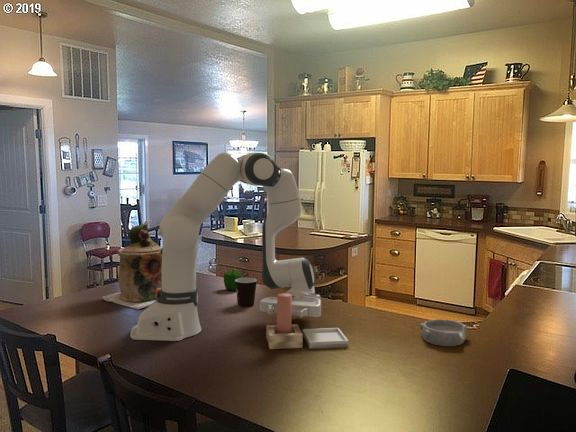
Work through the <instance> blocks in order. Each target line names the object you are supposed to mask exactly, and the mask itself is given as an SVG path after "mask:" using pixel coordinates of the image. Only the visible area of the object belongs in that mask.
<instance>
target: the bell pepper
mask: <svg viewBox="0 0 576 432" xmlns="http://www.w3.org/2000/svg"><path fill="white" fill-rule="evenodd" d="M237 270H238V269H237V268H233V269H232V271H225V272H224V273H223V284H224V288H225V289H226V290H227V291H230V290H231V291H232V292H233V291H234V292H236V284H235V280H236V279H239V278H243V274H242V273H241V272H240V271H237Z"/></svg>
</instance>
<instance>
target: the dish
mask: <svg viewBox="0 0 576 432" xmlns="http://www.w3.org/2000/svg"><path fill="white" fill-rule="evenodd" d="M419 326H420V327H419V329H420V330H421V331H422V332H421V334H422V338H423V340H424V341H425V342H427V343H429V344H432V345H436V346H441V347H457V345H458V346H461V345H462V344H464V343H465V340H466V337H467V330H468V328H467V325H466V324H464V323H462V322H459V321H456V320H451V319H443V318H442V319H431V320H430V319H429V320H425V321H424V322H421V323H420V325H419Z"/></svg>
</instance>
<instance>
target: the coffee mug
mask: <svg viewBox="0 0 576 432" xmlns="http://www.w3.org/2000/svg"><path fill="white" fill-rule="evenodd" d="M257 283H258V279H256V278H254V277H252V278H251V277H242V278H239V279H236V280H235V284H236V291H235V292H236V300H237V301H236V302H237V306H238V307H239V308H250V307H252V308H253V306H255V299H256V290H257V285H258V284H257Z"/></svg>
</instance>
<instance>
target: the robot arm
mask: <svg viewBox="0 0 576 432" xmlns="http://www.w3.org/2000/svg"><path fill="white" fill-rule="evenodd" d="M238 182H241V183H244V184H246V185H250V186H255V187H257V186H260V187H263V189H264V190H265V193H266V195H267V200H268V207H269V208H268V213H267V216H266V217H265V218H264V219H263V221H262V229H261V231H262V232H261V233H262V234H261V238H262V239H261V240H262V241H261V242H262V244H261V245H262V248H261V249H262V252H261V254H262V263H261V264H262V265H261V279H262V284H264V285H265V287H267V288H268V289H271V290H275V289H276V290H278V289H280V288H285V287H286V288H287V287H291V288H289V290H287V291H286V292H285V293H284V294H291V295H292V316H293V317H297V318H303V317H313V318H317V317H321V316H322V300H321V295H320V294H317V293H316V289H315V283H316V272H315V268H314V266H313V264H312V263H311V262H310V260H309V259H307V258H306V257H303V256H302V257H296V258H289V259H281V260H280V259H279V260H277V259H276V237H277V234H279V232H281V231H282V230H284V229H286V228H287V227H289V226H291V225H292V224H294V223H295V222H297V221H298V219H299V218H300V216H301V213H302V202H301V197H300V191H299V188H298V185H297V181H296V178H295V176H294V174H293V172H292V171H291V170H290V169H287V168H284V167H283V168H282V167H280V166H279V165H278V163H277V162H276V160H274V158H273V157H272V156H270V155H269V154H268V153H264V152H250V153H248V154H247V153H246V154H243V155H241V156H240V157H237V156H235V155H233V154H231V153H229V152H221V153H219V154H217V155H216V156H214V158H213V159H211V161H210V162H209V163H208V164H207V165H206V166H205V167H204V168H203V170H202V171H201V172H200V173H199V174H198V176H197V177H196V178H195V180H194V181H193V182H192V184H191V185H190V186H189V188H188V189H187V190H186V191H185V192H184V194H183V195H182V196H181V197H179V199H178V200H177V201H176V203H175V204H174V205H173V206H172V207H171V208H170V209H169V211H168V212H166V214H165V215H164V216H163V218H162V219H161V221H160V222H159V229H158V230H159V235H160V236H161V238H162V248H163V253H162V265H161V273H162V289H161V288H157V289H156V291H155V300H156V301H155V302H154V303H153V304H151V305H150V306H147V307H145V308H144V310H143V311H142V312H141V313H140V314H139V317H138V320H137V324H136V325H134V326H133V327H132V328H131V329H130V335H129V337H130V339H131V340H135V341H136V340H137V341H167V342H168V341H169V342H178V341H182V340H183V339H186V338H189V337H192V336H196V335H198V334H199V333H201V332H202V327H201V322H200V318H199V313H198V303H199V293H198V288H197V260H198V259H197V258H198V250H199V249H198V248H199V235H200V232H199V227H200V226H201V225H202V224H203V223H204V222H205V221H206V220H207V219H208V218H209V217H210V216H211V215H212V214H214V212H215V211H216V210H217V208H218V207H219V206H220V204H221V203H222V202H223V200H224V199H225V198H226V196H227V195H228V194H229V192H230V191H231V189H232V187H233V186H234V185H236V184H237V183H238ZM259 310H260V312H262V313H268V315H272V316H273V315H274V314H277V296H266V297H265V298H262V299H261V300H260V301H259Z"/></svg>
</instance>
